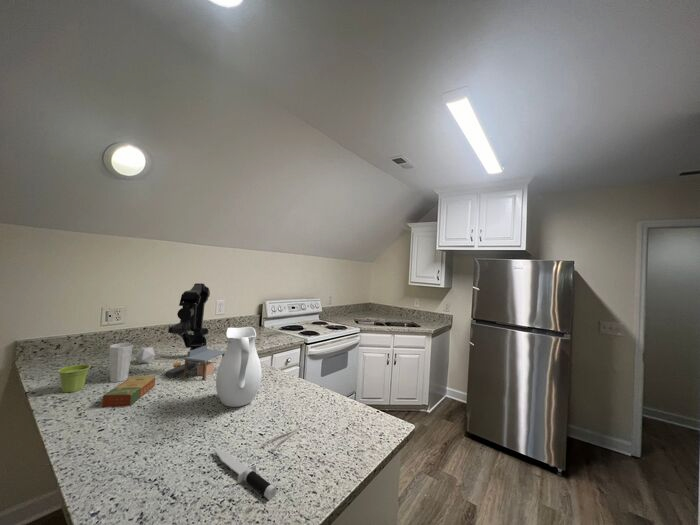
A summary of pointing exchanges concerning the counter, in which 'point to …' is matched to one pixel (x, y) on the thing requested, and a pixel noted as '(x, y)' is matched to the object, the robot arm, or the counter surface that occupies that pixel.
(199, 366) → the block
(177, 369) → the console
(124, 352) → the cup
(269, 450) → the tweezers
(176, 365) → the orange button
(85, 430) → the counter surface
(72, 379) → the plant pot
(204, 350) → the lid
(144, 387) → the carton
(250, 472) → the knife
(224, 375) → the pitcher
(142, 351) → the die
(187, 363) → the frame
